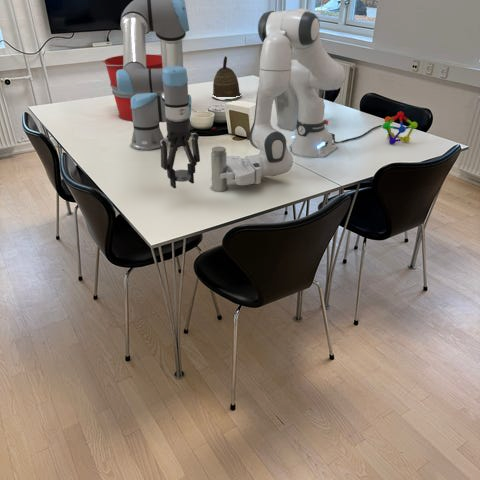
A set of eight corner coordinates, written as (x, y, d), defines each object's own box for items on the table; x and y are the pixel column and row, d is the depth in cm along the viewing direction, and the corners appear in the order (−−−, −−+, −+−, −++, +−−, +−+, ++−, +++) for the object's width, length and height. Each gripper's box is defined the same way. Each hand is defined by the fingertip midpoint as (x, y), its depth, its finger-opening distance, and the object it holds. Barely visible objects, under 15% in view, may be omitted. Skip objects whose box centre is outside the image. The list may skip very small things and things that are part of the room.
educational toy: (377, 146, 209) (379, 114, 202) (384, 138, 219) (386, 107, 211) (411, 149, 202) (415, 116, 195) (417, 141, 212) (420, 109, 204)
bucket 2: (296, 138, 215) (301, 78, 201) (255, 124, 234) (256, 68, 219) (335, 125, 232) (342, 70, 217) (294, 113, 251) (297, 61, 236)
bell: (227, 105, 294) (202, 96, 282) (238, 66, 289) (213, 55, 277) (243, 108, 280) (217, 98, 268) (255, 66, 275) (229, 55, 263)
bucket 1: (119, 105, 264) (111, 51, 248) (177, 106, 263) (173, 52, 247) (101, 123, 234) (92, 63, 218) (167, 124, 233) (162, 63, 218)
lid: (173, 174, 155) (173, 169, 154) (191, 174, 155) (191, 169, 154) (171, 181, 150) (171, 176, 149) (190, 181, 150) (190, 176, 149)
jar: (220, 192, 164) (219, 152, 156) (209, 188, 167) (207, 149, 159) (229, 187, 168) (229, 148, 160) (218, 183, 171) (218, 144, 163)
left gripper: (155, 126, 134) (162, 195, 147) (209, 116, 144) (211, 181, 156) (145, 120, 140) (152, 187, 152) (198, 111, 149) (200, 174, 161)
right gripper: (242, 150, 175) (208, 154, 170) (262, 169, 158) (225, 174, 154) (241, 165, 178) (208, 169, 174) (261, 185, 162) (225, 191, 157)
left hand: (182, 184), depth 154 cm, fingers closed on lid, 6 cm apart
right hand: (216, 172), depth 164 cm, fingers closed on jar, 5 cm apart
